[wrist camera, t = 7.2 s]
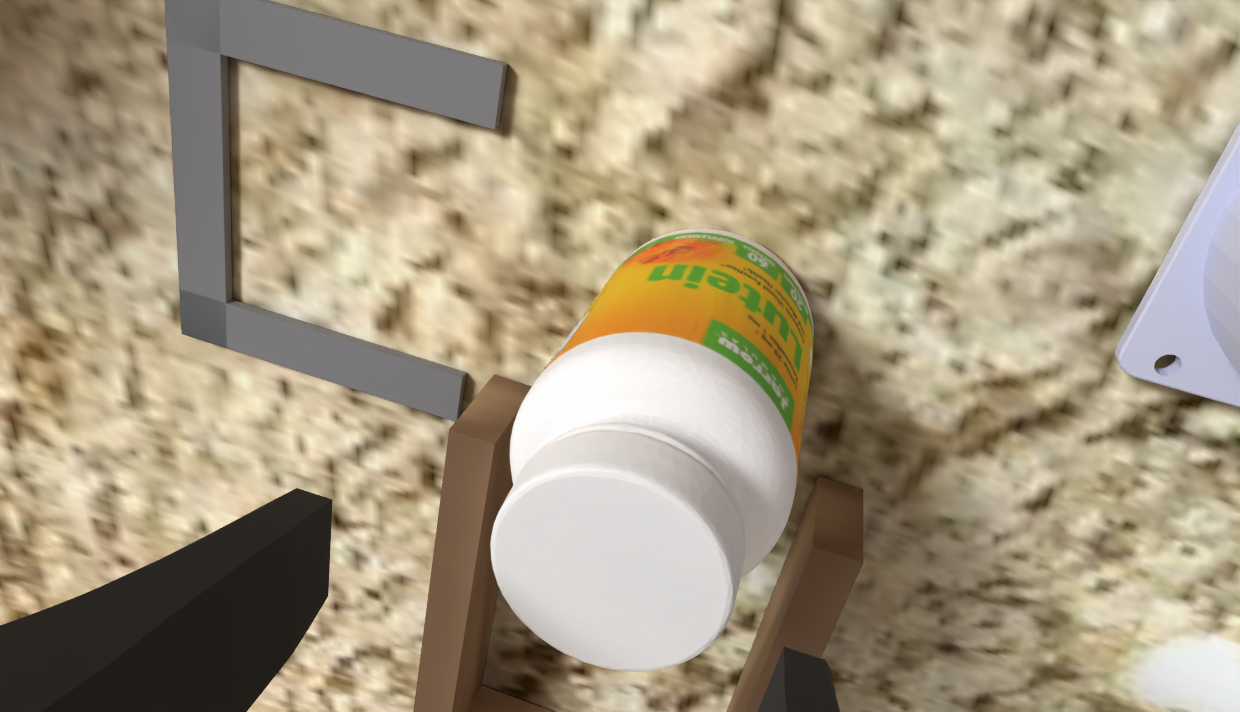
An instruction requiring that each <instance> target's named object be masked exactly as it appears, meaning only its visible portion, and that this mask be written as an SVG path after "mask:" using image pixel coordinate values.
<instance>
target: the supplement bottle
mask: <svg viewBox="0 0 1240 712" xmlns="http://www.w3.org/2000/svg"><path fill="white" fill-rule="evenodd" d="M813 343H814V329H813V320H812V315H811V310H810V307H809V304H808V301H807V298H806V296H805V293H804V291H803V289H802V287H801V286H800V284H799V282H798V281H797V279H796V278H795V276H794V275H793V274H792V272H791V271H790V270H789V268H788V267H787V266H786V265H785V264H784V263H783V262H782V261H781V260H780V259H779V258H778V257H777V256H775V255H774V254H773V253H772V252H770V251H769V250H767V249H766V248H764V247H763V246H761V245H760V244H758V243H756V242H754V241H752V240H750V239H748V238H745V237H743V236H741V235H738V234H735V233H731V232H726V231H722V230H716V229H702V228H698V229H686V230H680V231H675V232H671V233H668V234H665V235H662V236H659V237H657V238H655V239H652V240H651V241H649V242H647V243H645V244H644V245H642V246H641V247H639V248H638V249H637V250H635V251H634V252H633V253H632V254H631V255H630V256H629V257H628V258H627V259H626V260H625V261H624V262H623V263H622V264H621V265H620V266H619V268H618V269H617V270H616V271H615V273H614V274H613V275H612V277H611V278H610V279H609V281H608V282H607V283H606V285H605V286H604V288H603V289H602V290H601V292H600V293H599V295H598V296H597V297H596V299H595V300H594V302H593V303H592V304H591V306H590V307H589V308H588V310H587V311H586V313H585V314H584V315H583V317H582V318H581V320H580V321H579V322H578V324H577V325H576V326H575V328H574V329H573V331H572V332H571V333H570V335H569V336H568V338H567V339H566V340H565V342H564V343H563V344H562V346H561V347H560V349H559V350H558V351H557V353H556V354H555V355H554V357H553V358H552V359H551V361H550V362H549V363H548V365H547V366H546V367H545V368H544V370H543V371H542V373H541V374H540V375H539V376H538V378H537V379H536V381H535V382H534V384H533V386H532V387H531V389H530V390H529V392H528V393H527V395H526V397H525V399H524V400H523V402H522V404H521V406H520V408H519V411H518V413H517V416H516V419H515V422H514V425H513V429H512V434H511V440H510V466H511V474H512V481H513V487H512V489H511V490H510V492H509V494H508V496H507V498H506V499H505V501H504V503H503V505H502V507H501V509H500V510H499V512H498V515H497V517H496V520H495V522H494V525H493V530H492V535H491V544H490V546H491V561H492V567H493V571H494V574H495V577H496V580H497V583H498V586H499V588H500V590H501V592H502V594H503V596H504V598H505V599H506V601H507V602H508V604H509V605H510V607H511V609H512V610H513V611H514V613H515V614H516V615H517V616H518V618H519V619H520V620H521V621H522V622H523V623H524V624H525V625H526V626H527V627H528V628H529V629H531V630H532V631H533V632H534V633H535V634H536V635H537V636H538V637H539V638H541V639H542V640H544V641H545V642H547V643H548V644H550V645H551V646H553V647H554V648H556V649H558V650H559V651H561V652H563V653H564V654H567V655H569V656H571V657H573V658H576V659H578V660H580V661H582V662H585V663H588V664H592V665H595V666H599V667H603V668H607V669H612V670H619V671H637V672H641V671H653V670H659V669H664V668H669V667H672V666H676V665H679V664H681V663H683V662H685V661H687V660H689V659H691V658H693V657H695V656H697V655H699V654H700V653H701V652H703V651H704V650H706V649H707V648H708V647H709V646H710V645H711V644H712V643H713V642H714V641H715V640H716V639H717V638H718V636H719V635H720V634H721V633H722V631H723V629H724V628H725V626H726V624H727V622H728V620H729V618H730V616H731V613H732V610H733V606H734V603H735V599H736V595H737V590H738V586H739V582H740V578H742V577H743V576H744V575H746V574H747V573H748V572H750V571H751V570H753V569H754V568H755V567H756V566H757V565H758V564H759V563H760V562H761V561H762V560H763V559H764V558H765V557H766V556H767V555H768V554H769V552H770V551H771V550H772V549H773V547H774V546H775V544H776V543H777V541H778V540H779V538H780V536H781V534H782V532H783V530H784V528H785V526H786V524H787V521H788V518H789V515H790V512H791V508H792V505H793V500H794V495H795V491H796V484H797V476H798V467H799V459H800V450H801V442H802V434H803V426H804V418H805V411H806V403H807V396H808V388H809V380H810V374H811V367H812V358H813Z"/></svg>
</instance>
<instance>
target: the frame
mask: <svg viewBox="0 0 1240 712" xmlns="http://www.w3.org/2000/svg"><path fill="white" fill-rule="evenodd" d="M165 17H166V36H167V56H168V75H169V95H170V114H171V134H172V153H173V173H174V192H175V212H176V231H177V251H178V271H179V290H180V310H181V329H182V334H184V335H187V336H190V337H193V338H196V339H199V340H203V341H206V342H209V343H212V344H215V345H218V346H221V347H224V348H227V349H231V350H234V351H237V352H240V353H243V354H246V355H249V356H252V357H256V358H259V359H262V360H265V361H268V362H271V363H274V364H277V365H281V366H284V367H287V368H290V369H293V370H296V371H299V372H302V373H305V374H309V375H312V376H315V377H318V378H321V379H324V380H327V381H330V382H334V383H337V384H340V385H343V386H346V387H349V388H352V389H355V390H358V391H362V392H365V393H368V394H371V395H374V396H377V397H380V398H383V399H387V400H390V401H393V402H396V403H399V404H402V405H405V406H408V407H412V408H415V409H418V410H421V411H424V412H427V413H430V414H433V415H436V416H440V417H443V418H446V419H449V420H452V421H455V422H456V421H457V420H458V418H459V417H460V416H461V410H462V402H463V395H464V387H465V380H466V372H463V371H460V370H456V369H453V368H450V367H447V366H444V365H441V364H437V363H434V362H431V361H428V360H425V359H421V358H418V357H415V356H412V355H409V354H405V353H402V352H399V351H396V350H393V349H389V348H386V347H383V346H380V345H377V344H373V343H370V342H367V341H364V340H361V339H357V338H354V337H351V336H348V335H345V334H341V333H338V332H335V331H332V330H329V329H325V328H322V327H319V326H316V325H313V324H309V323H306V322H303V321H300V320H297V319H293V318H290V317H287V316H284V315H281V314H277V313H274V312H271V311H268V310H265V309H261V308H258V307H255V306H252V305H249V304H245V303H242V302H239V301H236V300H233V299H232V246H231V191H230V137H229V83H228V56H229V57H233V58H236V59H240V60H244V61H247V62H251V63H255V64H258V65H262V66H266V67H269V68H273V69H276V70H280V71H284V72H287V73H291V74H295V75H298V76H302V77H306V78H309V79H313V80H316V81H320V82H324V83H327V84H331V85H335V86H338V87H342V88H346V89H349V90H353V91H356V92H360V93H364V94H367V95H371V96H375V97H378V98H382V99H386V100H389V101H393V102H396V103H400V104H404V105H407V106H411V107H415V108H418V109H422V110H426V111H429V112H433V113H437V114H440V115H444V116H447V117H451V118H455V119H458V120H462V121H466V122H469V123H473V124H477V125H480V126H484V127H487V128H491V129H496V128H498V127H499V125H500V117H501V110H502V102H503V95H504V87H505V80H506V72H507V65H508V64H507V63H503V62H500V61H496V60H492V59H488V58H484V57H481V56H477V55H473V54H469V53H466V52H462V51H458V50H454V49H450V48H447V47H443V46H439V45H435V44H431V43H428V42H424V41H420V40H416V39H413V38H409V37H405V36H401V35H397V34H394V33H390V32H386V31H382V30H379V29H375V28H371V27H367V26H363V25H360V24H356V23H352V22H348V21H345V20H341V19H337V18H333V17H329V16H326V15H322V14H318V13H314V12H311V11H307V10H303V9H299V8H295V7H292V6H288V5H284V4H280V3H276V2H273V1H269V0H165Z"/></svg>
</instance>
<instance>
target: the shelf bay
mask: <svg viewBox="0 0 1240 712" xmlns="http://www.w3.org/2000/svg"><path fill="white" fill-rule="evenodd" d="M530 389H531V386H528V385H525V384H522V383H518V382H515V381H512V380H509V379H506V378H502V377H499V376H496V375H494V376H493V377H492V378H491V379H490V380H489V382H488V383H487V384H486V385H485V387H484V388H483V389H482V390H481V391H480V393H479V394H478V395H477V396H476V398H475V399H474V400H473V401H472V403H471V404H470V405H469V406H468V407H467V409H466V410H465V411H464V412H463V414H462V415H461V416H460V417H459V418H458V420H457V421H456V422H455V423H454V425H453V426H452V427H451V428H450V429H449V437H448V445H447V452H446V460H445V468H444V476H443V484H442V492H441V500H440V508H439V515H438V523H437V531H436V539H435V547H434V555H433V563H432V571H431V578H430V586H429V594H428V602H427V610H426V618H425V626H424V634H423V641H422V649H421V657H420V665H419V673H418V681H417V689H416V697H415V704H414V712H554V711H551V710H548V709H546V708H543V707H540V706H537V705H534V704H532V703H529V702H526V701H523V700H521V699H518V698H515V697H512V696H509V695H507V694H504V693H501V692H498V691H495V690H493V689H490V688H487V687H484V686H482V685H481V683H482V678H483V672H484V667H485V661H486V655H487V650H488V644H489V639H490V633H491V628H492V622H493V616H494V611H495V605H496V600H497V594H498V589H499V586H498V583H497V580H496V577H495V574H494V571H493V567H492V561H491V546H490V544H491V535H492V530H493V525H494V522H495V520H496V517H497V515H498V512H499V510H500V509H501V507H502V505H503V503H504V501H505V499H506V498H507V496H508V494H509V492H510V490H511V489H512V487H513V481H512V474H511V466H510V440H511V434H512V429H513V425H514V422H515V419H516V416H517V413H518V411H519V408H520V406H521V404H522V402H523V400H524V399H525V397H526V395H527V393H528V392H529V390H530ZM862 564H863V490H862V489H859V488H855V487H852V486H849V485H846V484H843V483H839V482H836V481H833V480H830V479H826V478H823V477H820V476H818V478H817V481H816V483H815V486H814V489H813V491H812V494H811V496H810V499H809V501H808V504H807V507H806V509H805V512H804V514H803V517H802V519H801V522H800V525H799V527H798V530H797V532H796V535H795V537H794V540H793V543H792V545H791V548H790V550H789V553H788V555H787V558H786V560H785V563H784V566H783V568H782V571H781V573H780V576H779V578H778V581H777V584H776V586H775V589H774V591H773V594H772V596H771V599H770V602H769V604H768V607H767V609H766V612H765V614H764V617H763V620H762V622H761V625H760V627H759V630H758V632H757V635H756V638H755V640H754V643H753V645H752V648H751V650H750V653H749V655H748V658H747V661H746V663H745V666H744V668H743V671H742V673H741V676H740V679H739V681H738V684H737V686H736V689H735V691H734V694H733V697H732V699H731V702H730V704H729V707H728V709H727V712H758V710H759V707H760V705H761V702H762V700H763V697H764V695H765V692H766V690H767V687H768V685H769V682H770V680H771V677H772V675H773V672H774V670H775V667H776V665H777V662H778V660H779V657H780V655H781V652H782V650H783V647H787V648H790V649H793V650H796V651H799V652H802V653H805V654H808V655H811V656H815V657H818V658H821V656H822V653H823V651H824V649H825V647H826V645H827V642H828V640H829V638H830V636H831V633H832V631H833V629H834V627H835V624H836V622H837V620H838V618H839V616H840V613H841V611H842V609H843V607H844V604H845V602H846V600H847V598H848V595H849V593H850V591H851V589H852V587H853V584H854V582H855V580H856V578H857V575H858V573H859V571H860V569H861V566H862Z"/></svg>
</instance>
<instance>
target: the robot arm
mask: <svg viewBox="0 0 1240 712" xmlns="http://www.w3.org/2000/svg"><path fill="white" fill-rule="evenodd" d="M1167 354H1170V355H1175V356H1176V359H1175V361H1174V362H1173V363H1172V364H1171V365H1170V366H1168V367H1165V368H1156V367H1154V365H1155V361H1156V360H1157V359H1158V358H1159V357H1161V356H1164V355H1167ZM1115 357H1116V361H1117V363H1118V365H1119V366H1120V368H1121V369H1122V370H1123V371H1124V373H1126V374H1128V375H1130V376H1132V377H1135V378H1138V379H1142V380H1145V381H1149V382H1152V383H1156V384H1159V385H1163V386H1166V387H1170V388H1173V389H1177V390H1180V391H1184V392H1187V393H1191V394H1195V395H1198V396H1202V397H1205V398H1209V399H1212V400H1216V401H1219V402H1223V403H1226V404H1230V405H1233V406H1237V407H1240V122H1239V124H1238V126H1237V128H1236V130H1235V131H1234V133H1233V135H1232V137H1231V139H1230V140H1229V142H1228V144H1227V146H1226V148H1225V150H1224V151H1223V153H1222V155H1221V157H1220V159H1219V161H1218V162H1217V164H1216V166H1215V168H1214V170H1213V171H1212V173H1211V175H1210V177H1209V179H1208V181H1207V182H1206V184H1205V186H1204V188H1203V190H1202V192H1201V193H1200V195H1199V197H1198V199H1197V201H1196V202H1195V204H1194V206H1193V208H1192V210H1191V212H1190V213H1189V215H1188V217H1187V219H1186V221H1185V223H1184V224H1183V226H1182V228H1181V230H1180V232H1179V233H1178V235H1177V237H1176V239H1175V241H1174V243H1173V244H1172V246H1171V248H1170V250H1169V252H1168V254H1167V255H1166V257H1165V259H1164V261H1163V263H1162V264H1161V266H1160V268H1159V270H1158V272H1157V274H1156V275H1155V277H1154V279H1153V281H1152V283H1151V285H1150V286H1149V288H1148V290H1147V292H1146V294H1145V295H1144V297H1143V299H1142V301H1141V303H1140V305H1139V306H1138V308H1137V310H1136V312H1135V314H1134V316H1133V317H1132V319H1131V321H1130V323H1129V325H1128V326H1127V328H1126V330H1125V332H1124V334H1123V336H1122V337H1121V339H1120V341H1119V343H1118V345H1117V347H1116V351H1115ZM331 518H332V499H328V498H325V497H322V496H319V495H316V494H313V493H310V492H307V491H304V490H301V489H298V488H296V489H294V490H293V491H291V492H289V493H287V494H285V495H283V496H281V497H279V498H277V499H275V500H273V501H271V502H269V503H267V504H266V505H264V506H262V507H260V508H258V509H256V510H254V511H252V512H250V513H249V514H247V515H245V516H243V517H241V518H239V519H237V520H236V521H234V522H232V523H230V524H228V525H226V526H224V527H222V528H220V529H219V530H217V531H215V532H213V533H211V534H209V535H207V536H205V537H203V538H201V539H199V540H197V541H195V542H193V543H191V544H189V545H187V546H186V547H184V548H182V549H180V550H178V551H176V552H174V553H172V554H170V555H168V556H166V557H164V558H162V559H160V560H158V561H156V562H153V563H151V564H149V565H147V566H145V567H143V568H140V569H138V570H136V571H134V572H132V573H130V574H127V575H125V576H123V577H121V578H119V579H117V580H114V581H112V582H110V583H108V584H106V585H104V586H102V587H99V588H97V589H94V590H92V591H90V592H87V593H85V594H83V595H80V596H78V597H75V598H73V599H70V600H68V601H65V602H63V603H60V604H58V605H55V606H52V607H50V608H47V609H45V610H42V611H39V612H37V613H34V614H31V615H29V616H26V617H23V618H21V619H18V620H15V621H12V622H9V623H7V624H4V625H0V712H247V710H248V709H249V708H250V707H251V705H252V704H253V703H254V702H255V701H256V699H257V698H258V697H259V696H260V694H261V693H262V692H263V690H264V689H265V688H266V687H267V685H268V684H269V683H270V682H271V680H272V679H273V678H274V677H275V675H276V674H277V673H278V672H279V670H280V669H281V668H282V666H283V665H284V664H285V663H286V661H287V660H288V659H289V657H290V656H291V655H292V654H293V652H294V651H295V649H296V647H297V646H298V644H299V643H300V641H301V640H302V638H303V636H304V635H305V633H306V632H307V630H308V629H309V627H310V625H311V624H312V622H313V620H314V619H315V617H316V615H317V614H318V612H319V610H320V609H321V607H322V605H323V604H324V602H325V600H326V599H327V597H328V587H329V564H330V541H331ZM758 712H840V710H839V706H838V702H837V698H836V694H835V690H834V685H833V681H832V677H831V672H830V668H829V666H828V664H827V662H826V661H825V660H824V659H821V658H818V657H815V656H811V655H808V654H805V653H802V652H799V651H796V650H793V649H790V648H787V647H783V650H782V652H781V655H780V657H779V660H778V662H777V665H776V667H775V670H774V672H773V675H772V677H771V680H770V682H769V685H768V687H767V690H766V692H765V695H764V697H763V700H762V702H761V705H760V707H759V710H758Z"/></svg>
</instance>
